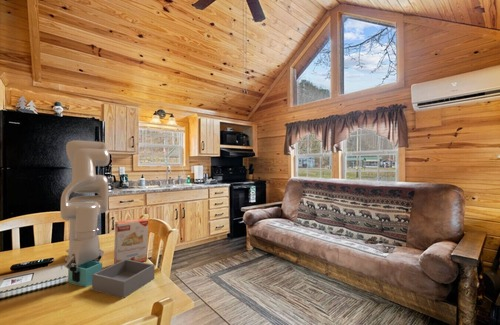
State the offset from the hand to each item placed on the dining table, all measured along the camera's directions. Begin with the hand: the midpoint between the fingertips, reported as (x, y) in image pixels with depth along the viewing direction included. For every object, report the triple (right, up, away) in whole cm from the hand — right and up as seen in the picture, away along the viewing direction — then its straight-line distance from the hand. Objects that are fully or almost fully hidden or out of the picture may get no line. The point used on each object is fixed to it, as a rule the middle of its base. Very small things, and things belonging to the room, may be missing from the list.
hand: (85, 276), depth 101 cm
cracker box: (+10, -2, +19) cm, 21 cm away
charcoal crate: (+17, -2, -2) cm, 18 cm away
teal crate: (0, -2, 0) cm, 2 cm away
